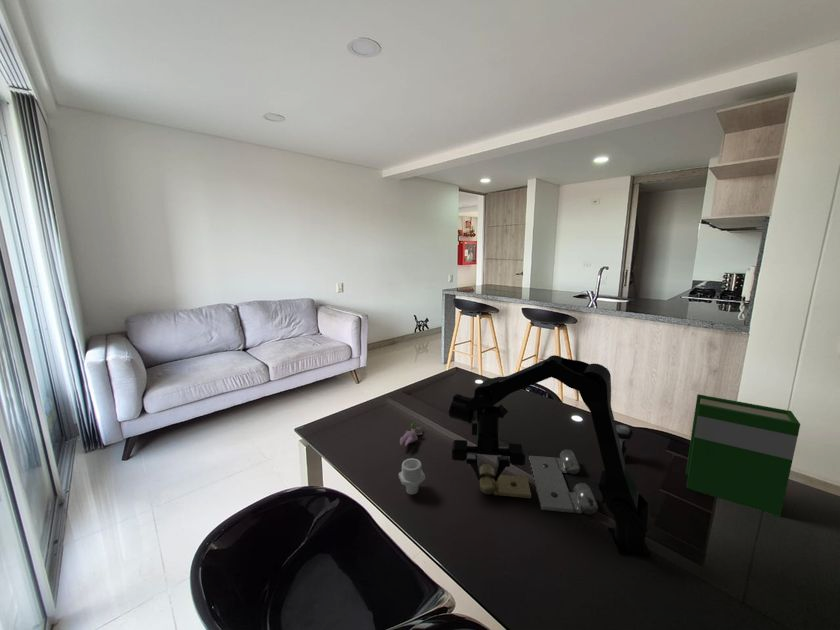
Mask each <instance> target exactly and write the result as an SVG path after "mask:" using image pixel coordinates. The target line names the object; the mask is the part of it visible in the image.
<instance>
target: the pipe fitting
mask: <svg viewBox="0 0 840 630" xmlns="http://www.w3.org/2000/svg"><path fill="white" fill-rule="evenodd" d="M398 478H399V480H400V483H401V484H402V485H403V486H405V490H406V493H407V494H409V495H416V494H417V493H418V492H419V485H421V483H423V482H424V481H425V480H426V474H425V473H424V471H423V470H422V462H421V461H420V460H419V459H417V458H413V457H412V458H407V459H404V460H403V461H402V464H401V471H400V472H398Z"/></svg>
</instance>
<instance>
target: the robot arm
mask: <svg viewBox="0 0 840 630" xmlns="http://www.w3.org/2000/svg"><path fill="white" fill-rule="evenodd" d="M550 378H552V379H555V380H557V381H559V382H560V383H562V384H563V385H565V386H566V387H567V388H570V389H573V390H576V391H577V392H578V393H579V395H580V397H581V400H582V402H583V403H584V404H585V406H586V407H587V409H588V410H589V411H590V416H591V419H592V422H593V427H594V431H595V435H596V438H597V443H598V449H599V451H600V456H601V459H602V463H603V468H604V470H601V473H600V477H599V482H598V487H599V488H598V489H599V491H600V493H601V495H602V500H601V503H602V504H605V506H606V509H607V510H608V512H609V513H612V514H613V518H614V521H615V523H614V527H608V528H607V532H608V534H609V535H610V538H611V541H612V543H613V545H614V547H615V549H616V552H617V553H618V554H620V555H621V554H622V555H626V556H627V555H629V556H637V557H646V558H651V557H652V553H651V551H650V549H649V548H648V546H647V543H646V535H647V532H648V529H649V509H650V508H649V507H650V506H649V503H648V501H647V500H646V499H645V498H644V497H643V496H642V494H641V493H640V491H639V488H638V485H637V483H636V481H635V478H634V476H633V475H632V474H631V472H630V470H628V468H627V466H626V463H625V462H626V461H625V457H624V458H623V454H622V449H621V445H620V441H619V437H618V433H617V429H616V425H617V424H616V421H615V417H614V412H613V409H612V381H611V380H612V378H611V373H610V370H609V369H608V367H606V366H604V365H603V364H599V363H587V362H585V361H581V360H577V359H576V360H575V359H569V358H565V357H562V356H560V355H556V354H555V355H554V354H553V355H550V356H549V357H548V358H546V359H544V360H541V361H539V362H536V363H534V364H532V365H530V366H528V367H525V368H523V369H521V370H519V371H516V372H514V373H511V374H509V375H505V376H497V377H495V376H494V377H492V378H488V379H486V380H485V381H483V382H482V383H481V384H479V385H478V386H477V387H476V388H475V389H474V396H473V397H468V396H464V395H461V394H460V393H456V394H454V395H453V396H452V401H451V404H450V407H449V409H448V414H449V418H451V419H453V420H455V421H456V420H457V421H460V422H463V423H467V424H471V436H476V446H475V445H474V446H473V445H468V440H466V439H465V440H462V439H454V440H453V442H452V449H451V459H452V460H453V461H459V462H464V461H466V462H465V463H466V464H468V465H470V467H471V468H472V470H473V471H474V474H475V476H476V478H477V480H478V481H480V463H479V456H486V457H487V456H488V457H496V463H495V469H494V474H495V482H496V481H497V480H498V478H499V476H500V475H502V473H503V472H504V470H505V469H506V468H510V466H511V465H512V466H524V465H526V453H525V448H524V445H523V444H522V443H512V442H511V443H507V446H499V445H500V420H501V419H504V417H506V415H507V414H508V413H509V410H508V409H507V408H505V407H504V405H503V404H502V403H501V404H499V405H496V404H497V403H500V402H501V401H502V400H504V399H505V398H506V397H508V396H509V395H510V394H514V392H518V391H521V390H523V389H525V388H527V387H531V386H533V385H535V384H538V383H539V382H540V383H541V382H543V381H545V380H548V379H550ZM476 420H477V421H476ZM475 421H476V422H475Z"/></svg>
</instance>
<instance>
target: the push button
mask: <svg viewBox="0 0 840 630" xmlns="http://www.w3.org/2000/svg"><path fill="white" fill-rule="evenodd" d="M615 425H616V429H617V433H618V437H619V441H620V445H621V449H622V454H623V458H624V459H625V457H626V452H627V447H626V440H630V439H632V436H633V435H634V433H633V431H632V430H631V429H630V428H629V427H628V426H627V425H625V424H615Z"/></svg>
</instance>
